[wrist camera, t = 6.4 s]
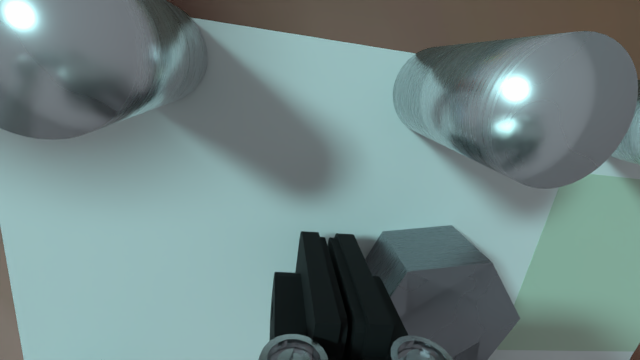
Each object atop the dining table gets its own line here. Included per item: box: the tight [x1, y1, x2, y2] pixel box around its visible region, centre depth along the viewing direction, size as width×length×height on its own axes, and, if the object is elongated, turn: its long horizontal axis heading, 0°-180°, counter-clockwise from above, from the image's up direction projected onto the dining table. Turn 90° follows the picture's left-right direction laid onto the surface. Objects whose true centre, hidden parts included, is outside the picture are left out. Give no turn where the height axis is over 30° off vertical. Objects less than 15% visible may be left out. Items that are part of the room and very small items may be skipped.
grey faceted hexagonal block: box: [365, 225, 520, 360], centre depth 11 cm, size 4×5×2 cm
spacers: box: [0, 0, 640, 189], centre depth 10 cm, size 15×20×5 cm
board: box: [0, 18, 640, 360], centre depth 13 cm, size 14×25×1 cm, turn 82°
